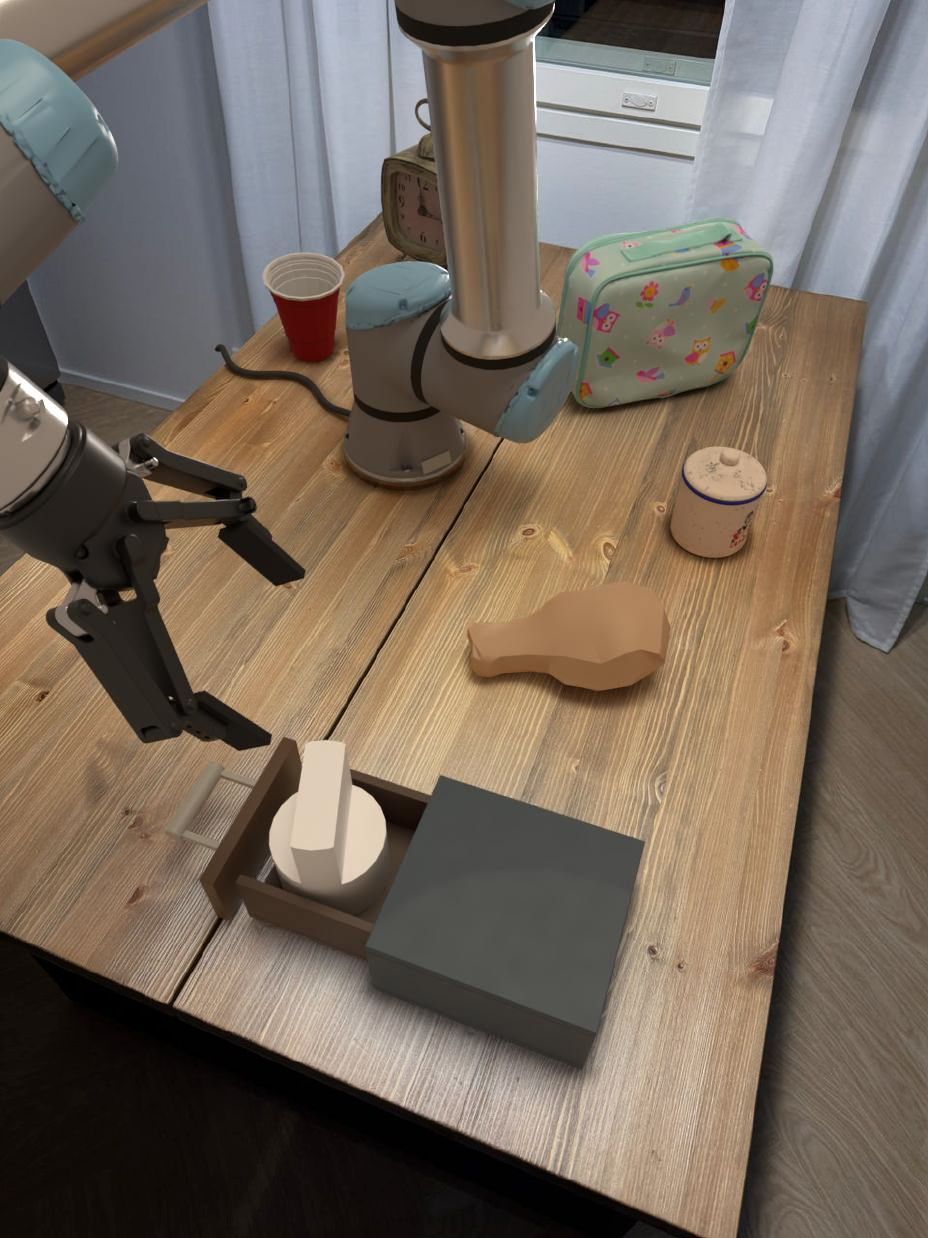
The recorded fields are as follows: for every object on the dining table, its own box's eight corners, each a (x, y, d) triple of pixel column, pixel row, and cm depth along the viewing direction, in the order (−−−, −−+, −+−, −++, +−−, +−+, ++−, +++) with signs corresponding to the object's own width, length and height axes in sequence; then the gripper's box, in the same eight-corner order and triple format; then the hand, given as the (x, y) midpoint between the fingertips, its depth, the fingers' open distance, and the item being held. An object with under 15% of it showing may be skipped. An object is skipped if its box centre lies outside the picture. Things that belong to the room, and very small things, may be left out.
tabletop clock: (384, 266, 143) (374, 94, 124) (422, 246, 147) (418, 77, 129) (453, 297, 137) (453, 121, 118) (490, 274, 141) (496, 102, 123)
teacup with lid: (743, 568, 99) (771, 488, 90) (661, 550, 101) (681, 470, 92) (753, 500, 107) (780, 420, 98) (677, 484, 108) (697, 404, 100)
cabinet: (372, 989, 69) (364, 946, 62) (441, 826, 78) (440, 774, 71) (582, 1070, 65) (596, 1033, 59) (628, 890, 74) (645, 841, 68)
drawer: (154, 892, 73) (131, 854, 68) (237, 759, 81) (222, 716, 76) (395, 985, 68) (390, 951, 63) (457, 833, 76) (457, 793, 71)
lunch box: (712, 344, 129) (750, 193, 113) (751, 382, 123) (797, 229, 106) (544, 379, 123) (558, 226, 106) (576, 422, 116) (596, 266, 100)
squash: (677, 700, 87) (687, 657, 80) (476, 721, 89) (466, 680, 81) (658, 606, 93) (665, 558, 85) (469, 627, 94) (459, 581, 87)
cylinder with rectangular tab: (386, 921, 70) (376, 851, 61) (272, 919, 70) (245, 849, 61) (393, 818, 76) (385, 741, 67) (288, 817, 76) (266, 739, 67)
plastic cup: (290, 381, 122) (278, 300, 113) (264, 342, 128) (250, 262, 119) (364, 361, 125) (357, 280, 116) (335, 324, 131) (326, 245, 122)
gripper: (-13, 650, 39) (284, 817, 55) (137, 294, 53) (342, 507, 68) (-114, 681, 43) (193, 831, 58) (52, 338, 56) (266, 532, 72)
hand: (274, 656), depth 63 cm, fingers open, 13 cm apart
